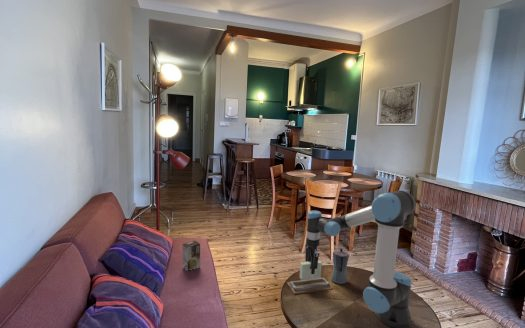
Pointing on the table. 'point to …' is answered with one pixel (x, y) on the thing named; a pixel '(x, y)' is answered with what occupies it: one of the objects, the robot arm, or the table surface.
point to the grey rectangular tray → (309, 285)
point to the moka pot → (339, 266)
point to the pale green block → (306, 270)
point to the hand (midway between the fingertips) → (310, 276)
